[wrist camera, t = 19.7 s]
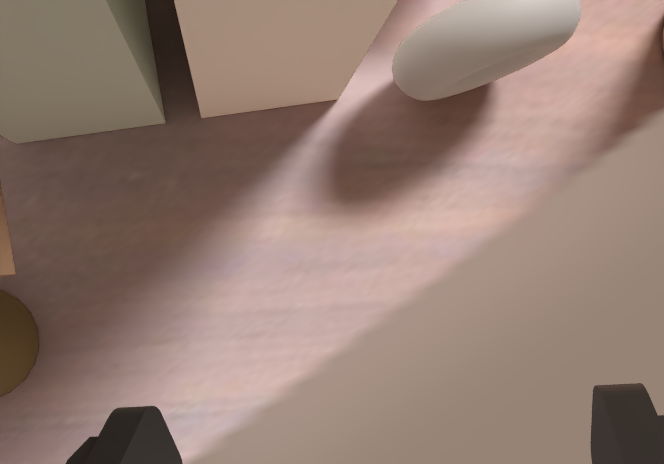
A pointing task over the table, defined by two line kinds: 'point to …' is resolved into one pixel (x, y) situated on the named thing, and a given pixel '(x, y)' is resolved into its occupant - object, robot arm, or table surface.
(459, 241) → the table surface
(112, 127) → the stand
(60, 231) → the table surface
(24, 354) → the cork
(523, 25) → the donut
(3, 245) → the slat
